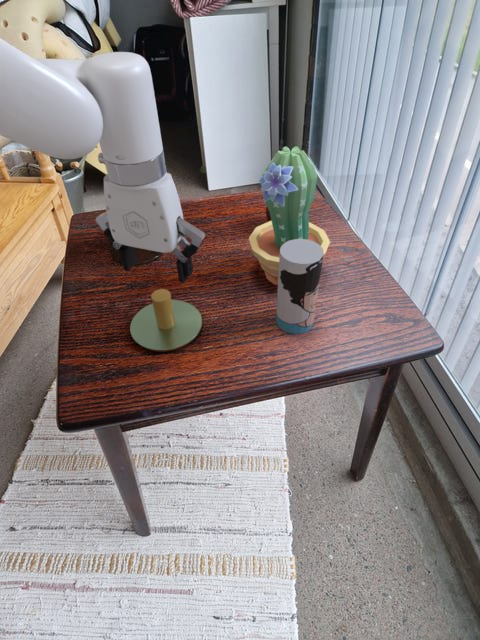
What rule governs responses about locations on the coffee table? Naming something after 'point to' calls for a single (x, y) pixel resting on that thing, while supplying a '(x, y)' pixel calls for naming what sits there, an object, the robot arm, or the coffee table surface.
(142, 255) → the bowl
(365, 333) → the coffee table surface
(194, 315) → the lid
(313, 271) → the white printed cylinder
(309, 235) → the potted cactus
